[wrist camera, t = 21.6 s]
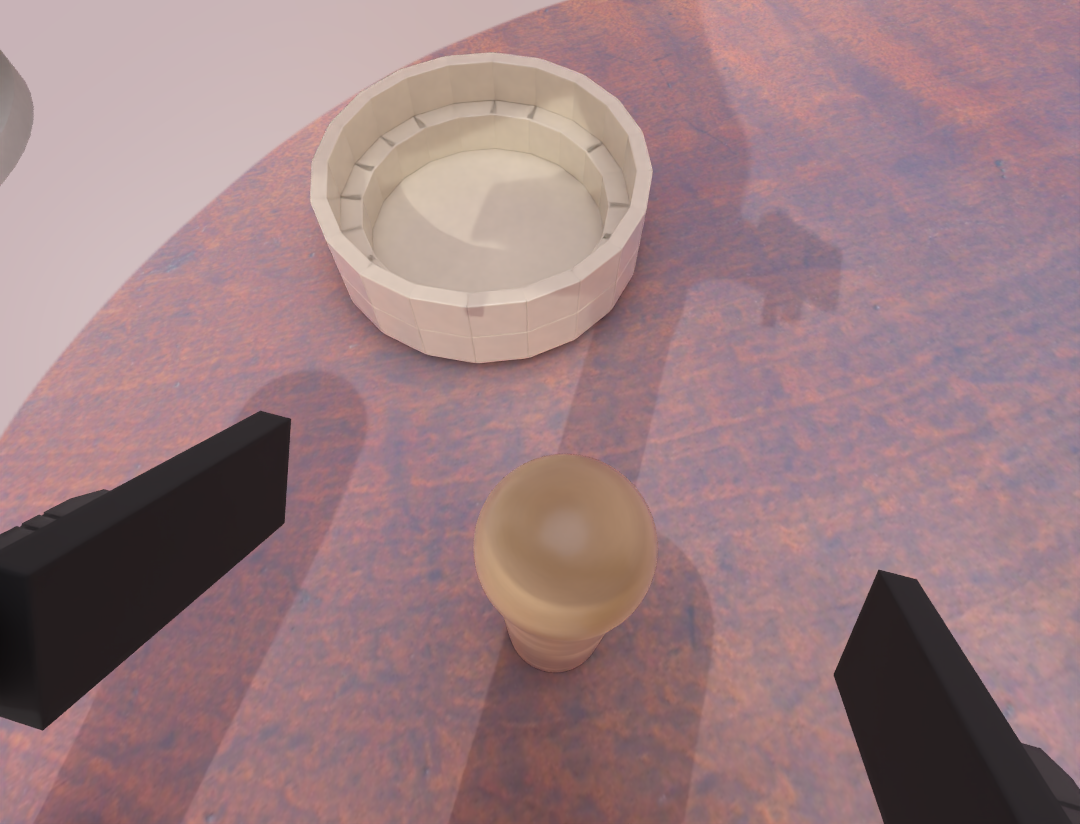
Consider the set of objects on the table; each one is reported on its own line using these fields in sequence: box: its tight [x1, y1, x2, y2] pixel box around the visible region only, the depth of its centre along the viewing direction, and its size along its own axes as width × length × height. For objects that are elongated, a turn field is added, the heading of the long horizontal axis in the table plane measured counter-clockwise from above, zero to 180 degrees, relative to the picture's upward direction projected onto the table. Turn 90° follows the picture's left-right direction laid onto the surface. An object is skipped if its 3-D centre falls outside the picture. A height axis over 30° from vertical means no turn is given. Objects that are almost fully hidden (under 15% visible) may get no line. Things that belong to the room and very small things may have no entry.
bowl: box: [310, 52, 653, 363], centre depth 35 cm, size 17×17×6 cm
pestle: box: [474, 454, 658, 673], centre depth 22 cm, size 5×5×15 cm
